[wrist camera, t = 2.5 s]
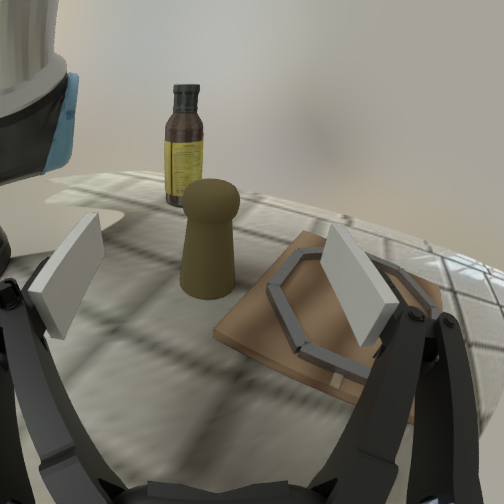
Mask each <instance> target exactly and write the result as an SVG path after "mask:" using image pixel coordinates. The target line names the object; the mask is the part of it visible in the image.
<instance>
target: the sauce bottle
mask: <svg viewBox="0 0 504 504" xmlns="http://www.w3.org/2000/svg"><path fill="white" fill-rule="evenodd" d="M199 91H200V85H199V84H175V85H174V89H173V92H174V107H173V114H172V115H171V117H170V118H169V120H168V122H167V124H166V127H165V149H164V151H165V152H164V153H165V154H164V155H165V191H166V201H167V202H168V203H169V204H171V205H173V206H183V193H184V191H185V189H186V188H187V186H188V185H189V184H190V183H192V182H194V181H196V180H200V179H202V164H203V135H204V134H203V123H202V121H201V119H200V117H199V116H198V114H197V109H198V107H197V103H198V94H199Z"/></svg>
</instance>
